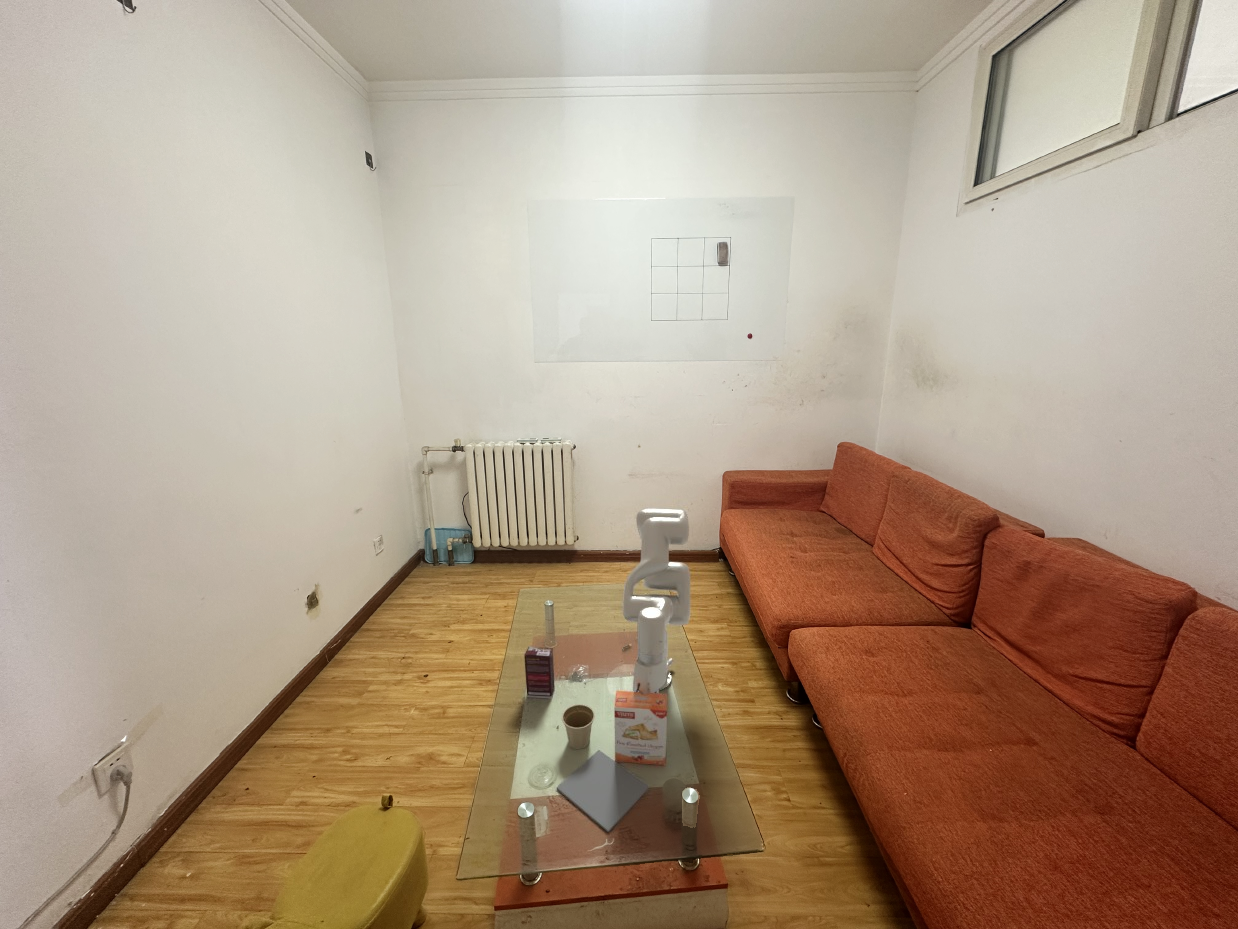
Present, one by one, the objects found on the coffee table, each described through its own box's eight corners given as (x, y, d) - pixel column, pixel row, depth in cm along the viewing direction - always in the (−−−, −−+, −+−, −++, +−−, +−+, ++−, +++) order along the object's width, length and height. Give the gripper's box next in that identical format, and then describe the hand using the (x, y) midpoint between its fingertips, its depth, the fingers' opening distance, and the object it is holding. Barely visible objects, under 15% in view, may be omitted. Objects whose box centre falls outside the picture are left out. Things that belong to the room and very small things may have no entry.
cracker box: (614, 763, 135) (613, 707, 127) (616, 744, 140) (615, 688, 133) (665, 767, 133) (667, 710, 126) (665, 747, 139) (667, 692, 131)
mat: (598, 751, 139) (598, 749, 138) (649, 787, 127) (649, 785, 127) (556, 789, 127) (556, 787, 127) (608, 832, 115) (608, 830, 115)
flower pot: (565, 757, 137) (564, 731, 135) (560, 732, 145) (559, 707, 143) (598, 750, 139) (597, 724, 137) (591, 726, 148) (590, 701, 146)
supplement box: (555, 689, 164) (553, 647, 160) (551, 699, 159) (550, 656, 156) (529, 687, 165) (527, 646, 161) (526, 697, 160) (523, 655, 156)
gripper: (656, 636, 141) (655, 691, 145) (623, 660, 130) (623, 719, 134) (678, 646, 136) (676, 702, 140) (645, 672, 125) (644, 733, 129)
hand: (650, 710), depth 137 cm, fingers closed
